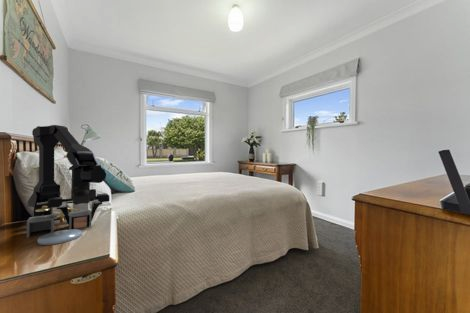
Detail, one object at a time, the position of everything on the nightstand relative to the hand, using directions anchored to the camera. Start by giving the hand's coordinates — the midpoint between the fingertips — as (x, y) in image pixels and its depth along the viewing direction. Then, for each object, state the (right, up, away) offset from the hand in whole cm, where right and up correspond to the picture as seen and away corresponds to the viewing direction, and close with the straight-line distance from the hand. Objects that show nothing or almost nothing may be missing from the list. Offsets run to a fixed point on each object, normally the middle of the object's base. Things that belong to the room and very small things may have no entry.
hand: (80, 222), depth 79 cm
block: (0, -2, 0) cm, 2 cm away
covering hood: (0, -2, 0) cm, 2 cm away
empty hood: (-8, -1, -7) cm, 11 cm away
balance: (-10, -2, +4) cm, 11 cm away
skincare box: (-10, -2, +14) cm, 18 cm away
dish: (+3, -1, -12) cm, 12 cm away
